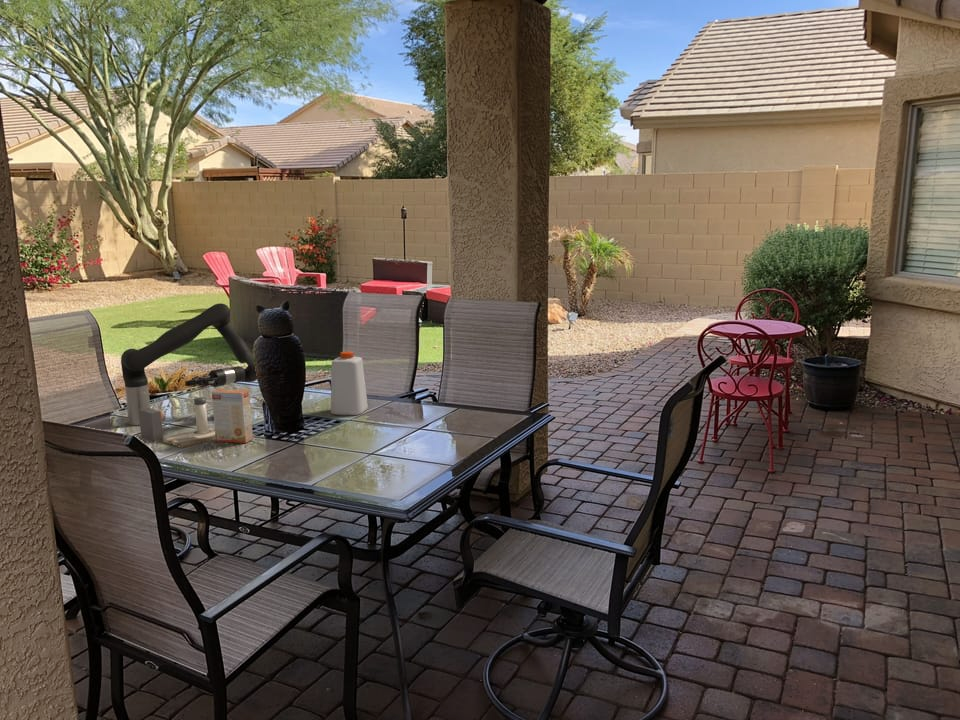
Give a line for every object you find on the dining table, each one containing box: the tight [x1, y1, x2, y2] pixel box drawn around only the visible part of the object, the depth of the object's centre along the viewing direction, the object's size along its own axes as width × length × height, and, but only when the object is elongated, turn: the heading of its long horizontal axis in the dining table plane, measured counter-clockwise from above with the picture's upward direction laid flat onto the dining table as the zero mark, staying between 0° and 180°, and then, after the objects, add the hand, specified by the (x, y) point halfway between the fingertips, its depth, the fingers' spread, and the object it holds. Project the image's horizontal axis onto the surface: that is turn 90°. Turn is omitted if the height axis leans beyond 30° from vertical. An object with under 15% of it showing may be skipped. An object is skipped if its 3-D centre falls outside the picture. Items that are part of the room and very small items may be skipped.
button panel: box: [139, 407, 164, 442], centre depth 309 cm, size 10×4×12 cm, turn 52°
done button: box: [157, 409, 164, 421], centre depth 311 cm, size 4×2×4 cm, turn 52°
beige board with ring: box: [162, 427, 216, 448], centre depth 308 cm, size 14×20×2 cm
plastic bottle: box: [330, 350, 369, 416], centre depth 346 cm, size 15×15×28 cm
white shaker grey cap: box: [193, 396, 209, 433], centre depth 312 cm, size 5×5×14 cm
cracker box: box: [211, 388, 254, 444], centre depth 303 cm, size 14×6×21 cm, turn 74°
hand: (186, 383), depth 318 cm, fingers closed
